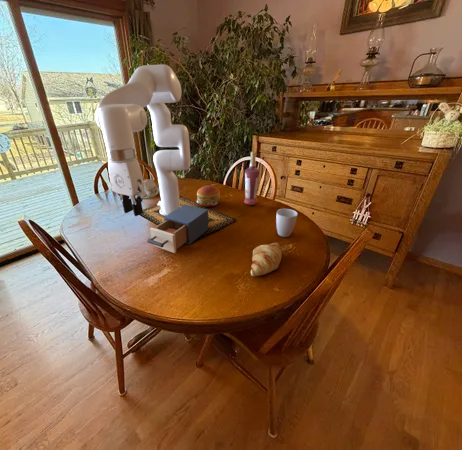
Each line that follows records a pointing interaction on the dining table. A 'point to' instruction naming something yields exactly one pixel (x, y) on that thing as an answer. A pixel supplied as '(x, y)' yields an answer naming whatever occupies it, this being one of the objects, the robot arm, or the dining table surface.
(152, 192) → the ceramic model
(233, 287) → the dining table surface
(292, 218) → the cup
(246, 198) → the liquor
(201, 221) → the cabinet
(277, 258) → the croissant
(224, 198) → the dining table surface
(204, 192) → the burger
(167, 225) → the drawer
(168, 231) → the block
